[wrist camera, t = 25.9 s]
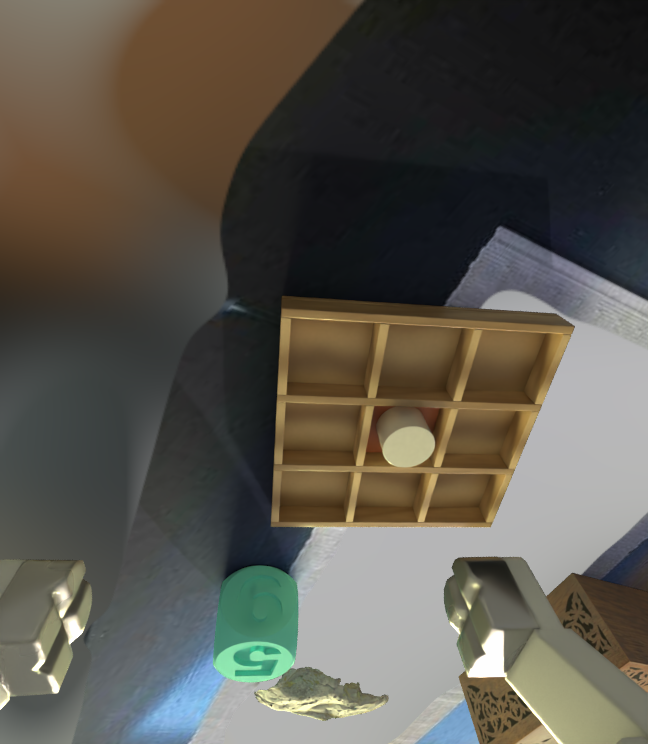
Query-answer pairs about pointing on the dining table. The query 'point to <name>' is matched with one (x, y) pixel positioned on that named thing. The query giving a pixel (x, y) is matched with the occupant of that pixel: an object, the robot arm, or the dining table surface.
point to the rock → (318, 696)
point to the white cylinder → (404, 436)
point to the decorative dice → (256, 624)
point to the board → (409, 389)
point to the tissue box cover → (593, 624)
